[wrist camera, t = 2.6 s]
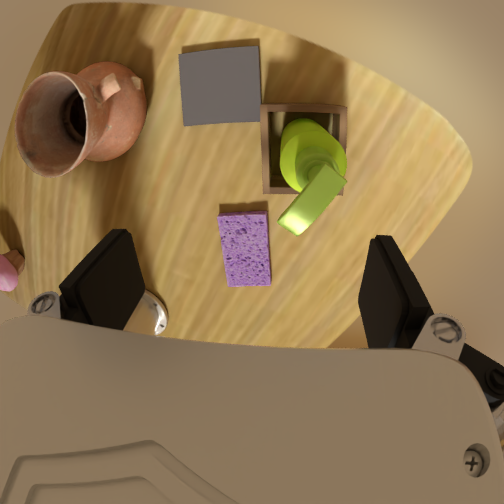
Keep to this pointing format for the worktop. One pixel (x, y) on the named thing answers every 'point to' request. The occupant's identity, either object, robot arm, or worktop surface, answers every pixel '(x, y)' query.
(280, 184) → the holder
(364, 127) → the worktop surface
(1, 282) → the cupcake
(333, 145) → the soap dispenser
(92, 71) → the ceramic jug
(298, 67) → the worktop surface
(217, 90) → the mat
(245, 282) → the sponges
